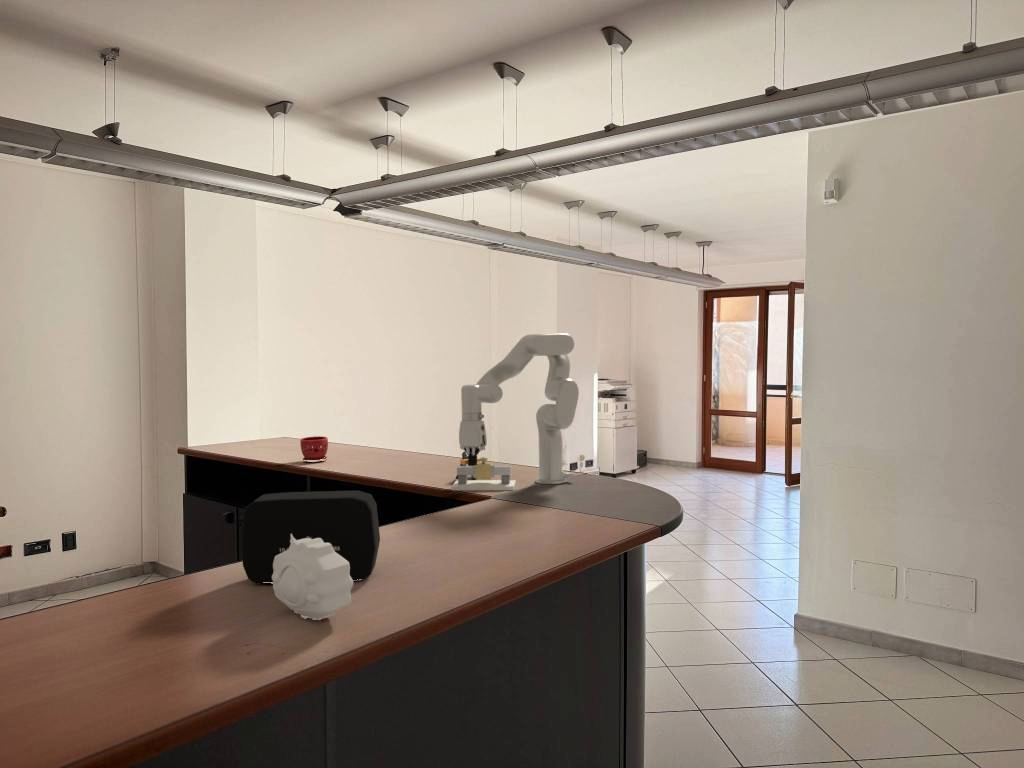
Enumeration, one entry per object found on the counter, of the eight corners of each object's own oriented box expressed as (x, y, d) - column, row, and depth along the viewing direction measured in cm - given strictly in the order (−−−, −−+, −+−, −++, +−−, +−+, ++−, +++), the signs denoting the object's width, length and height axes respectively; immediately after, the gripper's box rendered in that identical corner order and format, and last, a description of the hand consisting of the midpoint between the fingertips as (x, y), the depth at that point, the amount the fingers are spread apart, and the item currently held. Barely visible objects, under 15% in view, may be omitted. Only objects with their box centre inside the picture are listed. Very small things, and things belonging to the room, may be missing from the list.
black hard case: (242, 587, 161) (239, 500, 160) (258, 570, 173) (255, 490, 173) (376, 582, 163) (374, 496, 162) (382, 567, 175) (381, 486, 174)
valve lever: (484, 460, 280) (484, 456, 280) (488, 460, 278) (488, 456, 277) (460, 464, 271) (460, 459, 271) (464, 464, 269) (464, 460, 269)
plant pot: (299, 461, 354) (298, 437, 354) (325, 459, 360) (325, 435, 359) (303, 464, 343) (302, 440, 342) (330, 462, 348) (329, 438, 347)
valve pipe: (511, 476, 280) (511, 460, 280) (510, 479, 274) (510, 462, 274) (458, 476, 282) (458, 460, 281) (456, 479, 276) (456, 462, 275)
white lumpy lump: (306, 600, 152) (304, 527, 151) (362, 619, 141) (360, 539, 140) (261, 616, 143) (258, 538, 142) (316, 637, 132) (313, 552, 131)
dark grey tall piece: (479, 478, 299) (479, 449, 298) (476, 480, 293) (475, 451, 292) (459, 477, 300) (458, 449, 300) (455, 480, 295) (454, 451, 294)
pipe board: (515, 483, 284) (515, 472, 283) (513, 490, 271) (513, 478, 271) (456, 484, 285) (456, 472, 285) (451, 490, 272) (451, 478, 272)
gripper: (493, 417, 268) (494, 465, 269) (461, 415, 276) (462, 462, 276) (483, 418, 262) (484, 468, 262) (449, 417, 269) (451, 465, 270)
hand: (472, 465), depth 269 cm, fingers closed
